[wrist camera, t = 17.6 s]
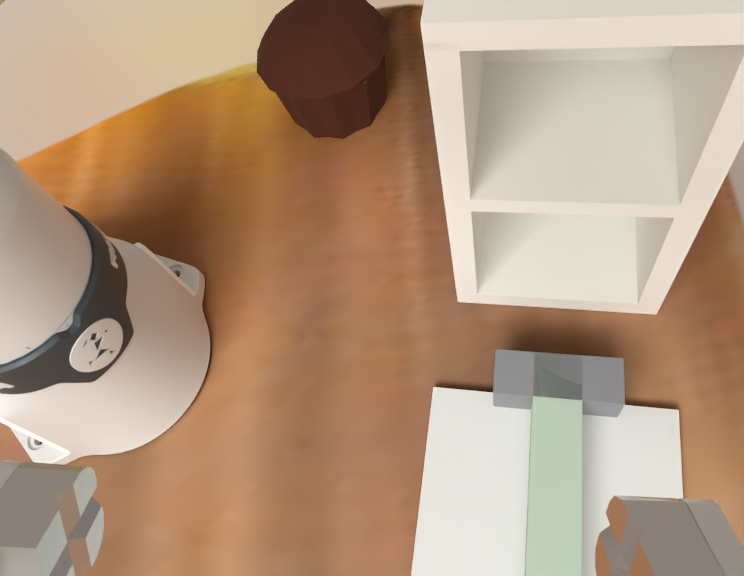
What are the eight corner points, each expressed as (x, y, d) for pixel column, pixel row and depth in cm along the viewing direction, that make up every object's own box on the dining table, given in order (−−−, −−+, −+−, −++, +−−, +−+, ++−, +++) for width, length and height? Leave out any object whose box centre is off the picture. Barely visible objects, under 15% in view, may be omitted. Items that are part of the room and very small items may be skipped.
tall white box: (656, 314, 46) (808, 10, 23) (457, 301, 49) (420, 23, 26) (651, 175, 51) (771, -185, 28) (471, 172, 54) (450, -154, 31)
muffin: (331, 172, 57) (300, 90, 48) (255, 112, 62) (215, 28, 53) (426, 89, 59) (413, -3, 51) (345, 38, 64) (321, -54, 55)
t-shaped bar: (622, 680, 36) (631, 685, 33) (476, 655, 38) (474, 658, 35) (616, 374, 44) (623, 358, 41) (496, 364, 46) (495, 349, 43)
